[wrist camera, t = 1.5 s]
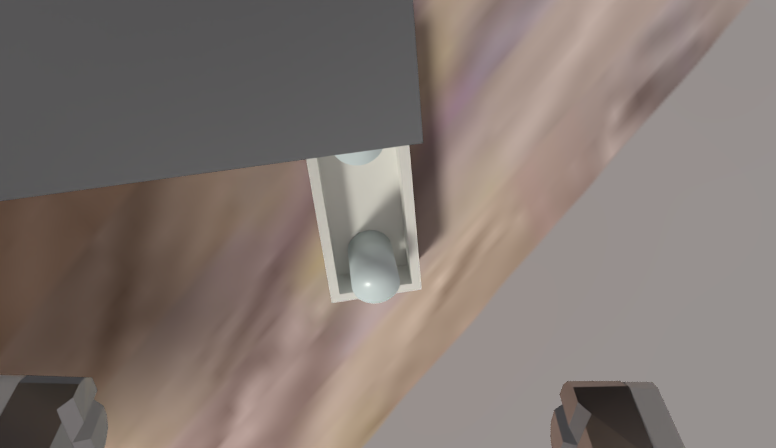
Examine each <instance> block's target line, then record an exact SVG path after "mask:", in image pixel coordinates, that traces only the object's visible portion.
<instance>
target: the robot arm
mask: <svg viewBox="0 0 776 448" xmlns="http://www.w3.org/2000/svg"><path fill="white" fill-rule="evenodd" d="M96 392H97V388H96V386H95V383H94V381H93V379H92V378H91V377H62V376H32V375H0V448H104V447H105V443H106V437H107V430H108V423H107V414H106V411H105V409H104V406H103V405H101V404H100V403H98V402H97V401H95V400H94V397H95V394H96ZM560 397H561V401H562V405H561V406H559V407H558V408H556V409H555V410H554V413H553V417H552V420H551V435H550V437H551V445H552V448H685V446H684V444H683V442H682V440H681V438H680V435H679V433H678V431H677V429H676V427H675V424H674V422H673V420H672V418H671V416H670V413H669V411H668V409H667V407H666V405H665V403H664V400H663V398H662V396H661V394H660V392H659V389H658V387H656V385H655V384H654V383H653V382H621V381H567V382H566V383H565V384H564V385H563V387H562V389H561V392H560Z"/></svg>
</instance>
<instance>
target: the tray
mask: <svg viewBox="0 0 776 448" xmlns="http://www.w3.org/2000/svg"><path fill="white" fill-rule="evenodd" d="M306 161H307V167H308V173H309V178H310V184H311V189H312V195H313V201H314V206H315V212H316V217H317V223H318V229H319V234H320V240H321V245H322V251H323V257H324V262H325V268H326V273H327V279H328V285H329V290H330V296H331V301H332V303H335V302H341V301H348V300H355V299H360V300H362V301H364V302H367V303H381V302H385V301H387V300H389V299H390V298H392V297H393V296H394V295H395V294H396V293H401V292H408V291H415V290H421V277H420V265H419V253H418V242H417V230H416V218H415V206H414V195H413V183H412V171H411V159H410V148H409V145H406V146H399V147H391V148H384V149H377V150H369V151H362V152H355V153H348V154H340V155H333V156H326V157H318V158H311V159H306Z"/></svg>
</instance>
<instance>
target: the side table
mask: <svg viewBox="0 0 776 448" xmlns="http://www.w3.org/2000/svg"><path fill="white" fill-rule="evenodd" d="M420 143H423V134H422V120H421V106H420V92H419V78H418V65H417V51H416V37H415V23H414V10H413V0H0V201H5V200H13V199H20V198H27V197H34V196H42V195H49V194H56V193H64V192H71V191H78V190H85V189H93V188H100V187H107V186H115V185H122V184H129V183H136V182H144V181H151V180H158V179H166V178H173V177H180V176H187V175H195V174H202V173H209V172H217V171H224V170H231V169H238V168H246V167H253V166H260V165H267V164H275V163H282V162H289V161H297V160H304V159H311V158H318V157H326V156H333V155H340V154H348V153H355V152H362V151H369V150H377V149H384V148H391V147H399V146H406V145H413V144H420Z"/></svg>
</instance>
